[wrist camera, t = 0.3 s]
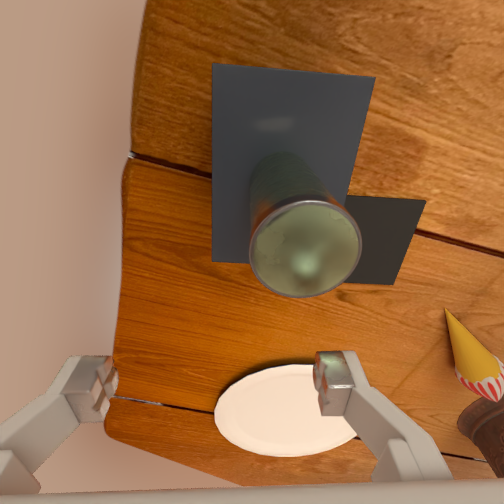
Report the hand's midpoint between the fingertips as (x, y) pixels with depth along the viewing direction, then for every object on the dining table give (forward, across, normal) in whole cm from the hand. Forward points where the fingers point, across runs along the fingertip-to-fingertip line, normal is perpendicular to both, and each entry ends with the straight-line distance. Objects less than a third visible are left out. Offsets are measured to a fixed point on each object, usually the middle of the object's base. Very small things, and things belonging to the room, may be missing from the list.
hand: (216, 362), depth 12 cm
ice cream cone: (+23, -36, +26) cm, 50 cm away
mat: (+23, -16, +7) cm, 29 cm away
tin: (+13, -4, -3) cm, 14 cm away
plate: (+23, -10, +43) cm, 50 cm away
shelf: (+24, -4, -3) cm, 24 cm away
